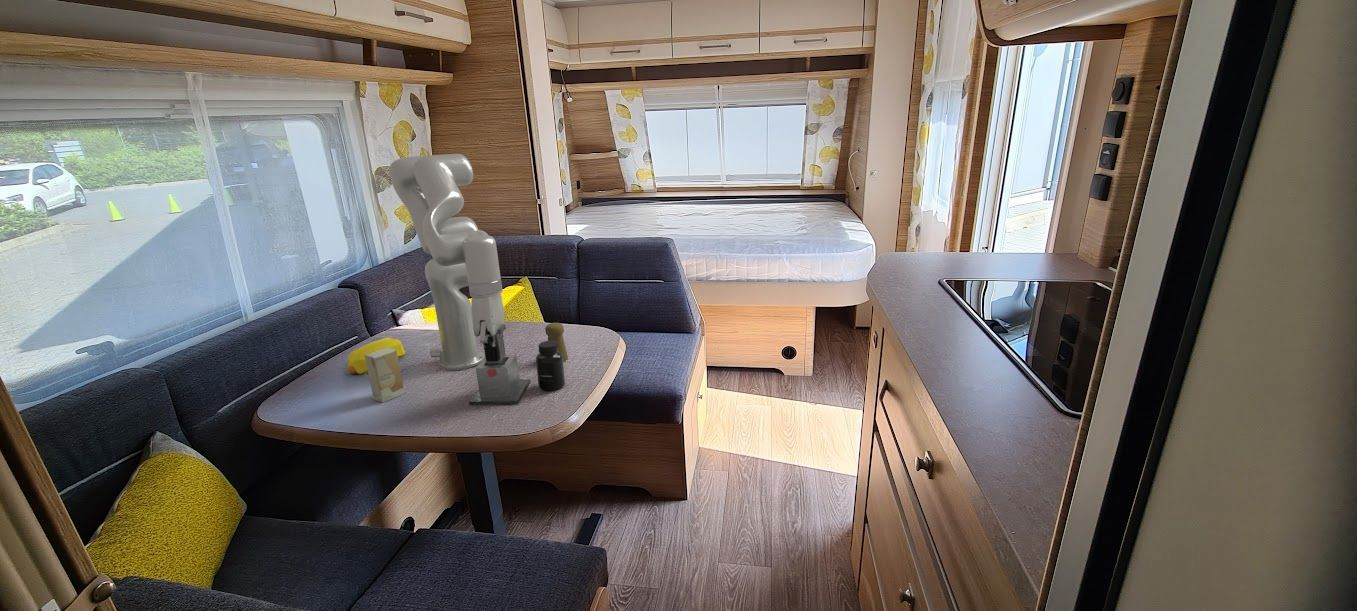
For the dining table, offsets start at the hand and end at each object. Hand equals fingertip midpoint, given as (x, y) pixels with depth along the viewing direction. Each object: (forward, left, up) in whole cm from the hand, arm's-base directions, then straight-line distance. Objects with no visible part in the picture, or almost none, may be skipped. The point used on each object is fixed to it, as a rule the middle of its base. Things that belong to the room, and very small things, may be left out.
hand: (495, 356), depth 143 cm
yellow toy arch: (-43, +21, -11) cm, 49 cm away
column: (0, 0, -9) cm, 9 cm away
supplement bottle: (+12, +4, -10) cm, 17 cm away
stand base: (0, 0, -10) cm, 10 cm away
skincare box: (-29, 0, -10) cm, 31 cm away
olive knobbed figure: (+10, +21, -10) cm, 26 cm away
